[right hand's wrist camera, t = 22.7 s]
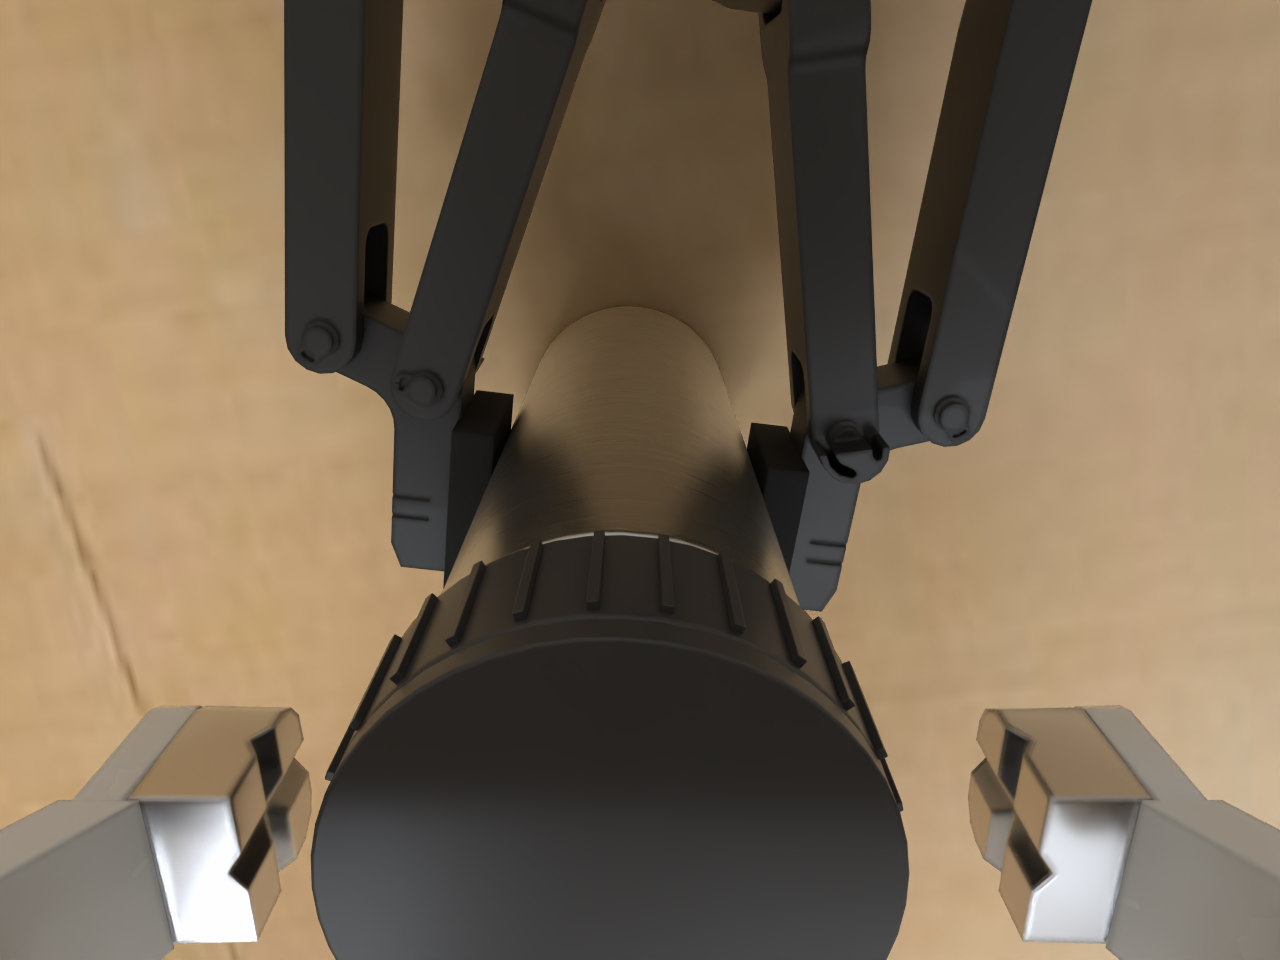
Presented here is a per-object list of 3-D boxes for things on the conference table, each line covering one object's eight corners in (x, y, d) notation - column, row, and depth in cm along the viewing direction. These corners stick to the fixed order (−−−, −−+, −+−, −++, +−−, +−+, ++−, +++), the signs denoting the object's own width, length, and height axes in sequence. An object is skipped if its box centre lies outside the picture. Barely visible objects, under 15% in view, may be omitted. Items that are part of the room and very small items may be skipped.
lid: (825, 472, 9) (877, 566, 7) (894, 896, 11) (949, 1060, 9) (292, 585, 10) (203, 702, 8) (451, 972, 11) (411, 1145, 10)
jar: (493, 379, 23) (256, 789, 9) (651, 265, 22) (674, 517, 8) (608, 524, 25) (564, 1078, 10) (761, 422, 24) (953, 880, 9)
